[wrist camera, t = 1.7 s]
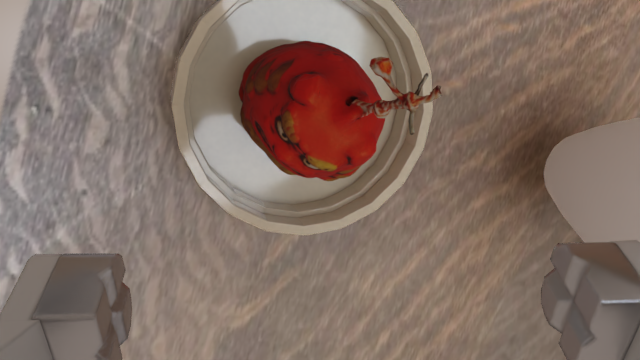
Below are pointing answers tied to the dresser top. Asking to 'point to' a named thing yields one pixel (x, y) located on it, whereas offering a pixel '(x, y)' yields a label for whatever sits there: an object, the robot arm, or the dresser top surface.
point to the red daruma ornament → (319, 108)
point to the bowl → (244, 155)
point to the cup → (598, 181)
